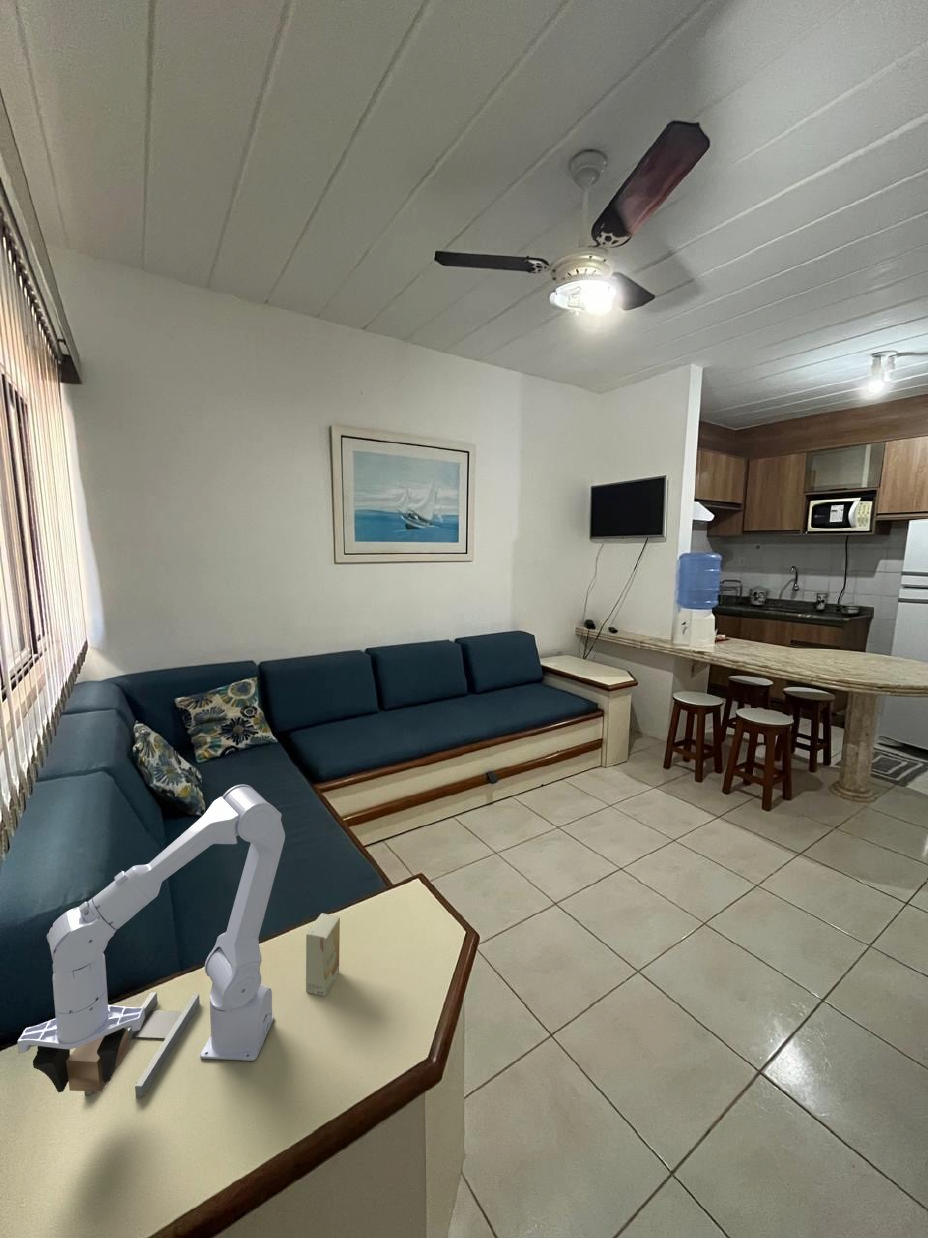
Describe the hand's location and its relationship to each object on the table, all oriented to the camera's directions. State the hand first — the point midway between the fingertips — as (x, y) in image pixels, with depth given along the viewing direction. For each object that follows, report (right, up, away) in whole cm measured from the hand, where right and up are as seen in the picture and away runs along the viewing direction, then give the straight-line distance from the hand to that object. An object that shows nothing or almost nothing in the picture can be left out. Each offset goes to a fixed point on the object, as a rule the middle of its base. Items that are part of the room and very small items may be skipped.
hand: (87, 1080), depth 70 cm
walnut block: (0, -1, +3) cm, 3 cm away
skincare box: (+26, -6, +27) cm, 38 cm away
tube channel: (0, -7, +13) cm, 15 cm away
